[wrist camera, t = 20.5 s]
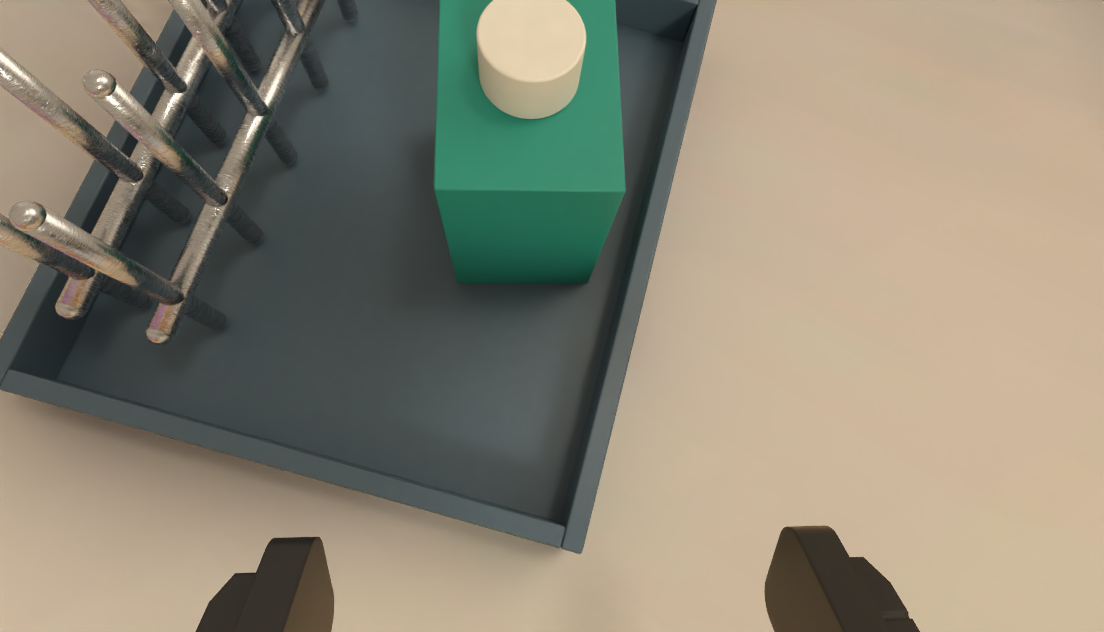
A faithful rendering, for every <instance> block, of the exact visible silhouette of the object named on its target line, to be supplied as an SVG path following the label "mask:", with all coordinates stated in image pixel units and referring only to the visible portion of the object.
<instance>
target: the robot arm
mask: <svg viewBox="0 0 1104 632" xmlns="http://www.w3.org/2000/svg"><path fill="white" fill-rule="evenodd" d="M765 602H766V608H767V612H768V615H769V618H770V621H771V624H772V626H773V629H774V631H775V632H920V631H919V629H918V628H917V626H916V624H915V623H914V621H913V619H910V618H909V616H908V611H907V609H906V608H905V606H904V604H903V603H902V601H901V599H900V598H899V596H898V595H897V593H896V591H895V590H894V588H893V586H892V585H891V583H890V582H889V581H888V580H887V579H886V578H885V577H884V576H883V575H882V574H881V573H880V572H879V571H878V570H876V569H875V568H874V567H873V566H872V565H871V564H870V563H869V562H868V561H867V560H866V559H865V558H864V557H849V555H848V554H847V552H846V550H845V548H844V546H843V545H842V543H841V541H840V539H839V537H838V536H837V534H836V533H835V531H834V530H833V529H832V528H830V527H828V526H797V527H785V528H783V530H782V531H781V533H780V536H779V540H778V543H777V546H776V549H775V552H774V555H773V559H772V562H771V565H770V568H769V571H768V575H767V578H766V582H765ZM333 615H334V594H333V588H332V584H331V579H330V575H329V570H328V566H327V561H326V557H325V552H324V547H323V543H322V540H321V539H320V537H293V538H273V539H272V540H271V541H270V542H269V543H268V545H267V547H266V549H265V552H264V554H263V557H262V559H261V562H260V564H259V567H258V569H257V572H256V573H235V574H234V575H233V576H232V578H231V579H230V580H229V581H228V582H227V583H226V584H225V585H224V586H223V587H222V589H221V590H220V591H219V592H218V593H217V594H216V595H215V596H214V597H213V599H212V600H211V601H210V602H209V604H208V606H207V608H206V610H205V612H204V615H203V617H202V619H201V621H200V623H199V626H198V628H197V630H196V632H331V629H332V623H333Z"/></svg>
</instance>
